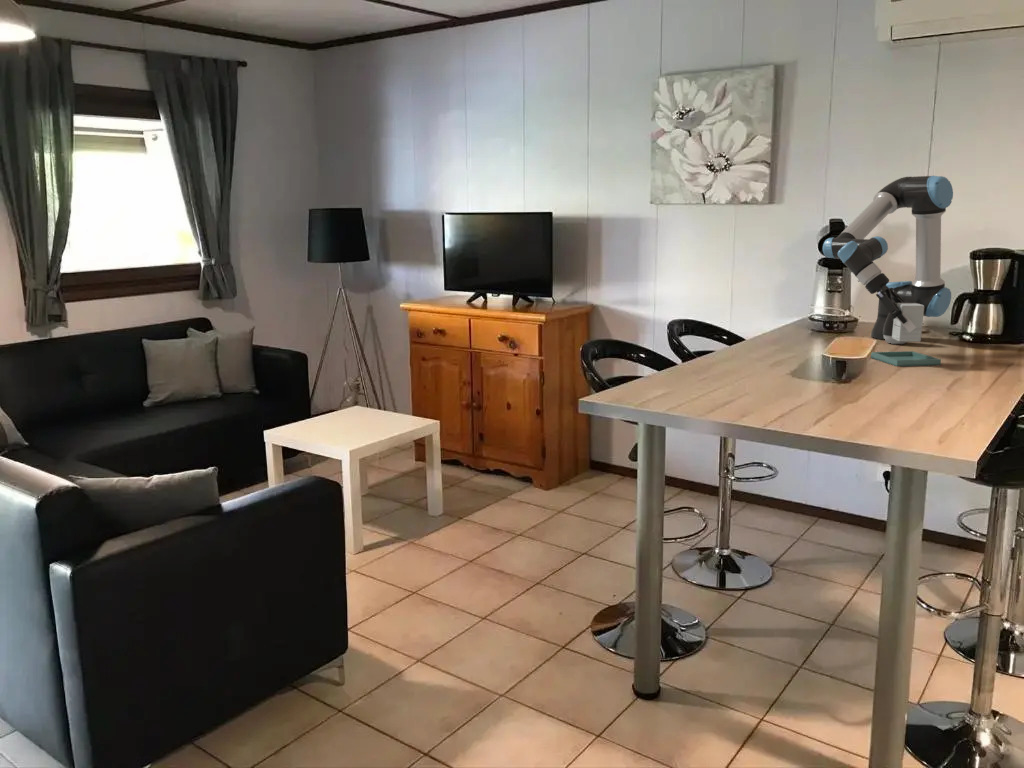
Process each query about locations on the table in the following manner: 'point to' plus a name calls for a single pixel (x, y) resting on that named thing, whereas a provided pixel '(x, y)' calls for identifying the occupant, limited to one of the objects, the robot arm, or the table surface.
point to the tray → (905, 358)
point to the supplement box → (915, 315)
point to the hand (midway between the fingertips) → (916, 328)
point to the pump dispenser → (890, 331)
